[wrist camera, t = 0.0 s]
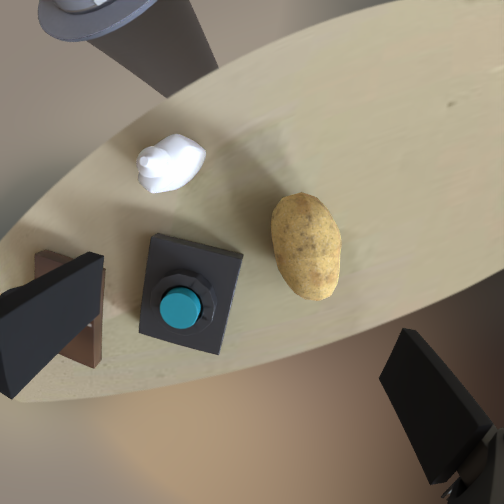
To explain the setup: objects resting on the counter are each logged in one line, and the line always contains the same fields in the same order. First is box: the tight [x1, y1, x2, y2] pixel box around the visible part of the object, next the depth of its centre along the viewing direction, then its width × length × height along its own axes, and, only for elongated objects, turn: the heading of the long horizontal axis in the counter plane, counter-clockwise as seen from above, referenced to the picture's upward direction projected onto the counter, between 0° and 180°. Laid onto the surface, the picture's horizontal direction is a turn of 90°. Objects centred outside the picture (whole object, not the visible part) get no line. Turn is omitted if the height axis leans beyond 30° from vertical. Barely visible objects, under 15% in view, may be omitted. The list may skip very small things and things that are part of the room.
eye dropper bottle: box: [136, 134, 206, 193], centre depth 27 cm, size 4×6×12 cm
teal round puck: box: [160, 287, 201, 329], centre depth 32 cm, size 4×4×2 cm
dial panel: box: [35, 250, 106, 368], centre depth 36 cm, size 14×10×3 cm
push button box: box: [139, 233, 243, 355], centre depth 34 cm, size 12×10×4 cm
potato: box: [271, 192, 341, 301], centre depth 31 cm, size 7×11×6 cm, turn 12°
